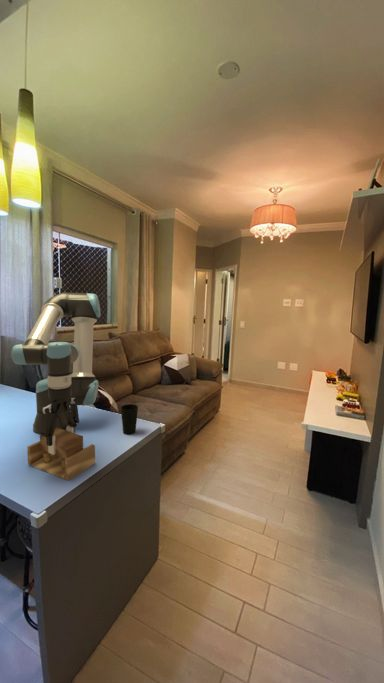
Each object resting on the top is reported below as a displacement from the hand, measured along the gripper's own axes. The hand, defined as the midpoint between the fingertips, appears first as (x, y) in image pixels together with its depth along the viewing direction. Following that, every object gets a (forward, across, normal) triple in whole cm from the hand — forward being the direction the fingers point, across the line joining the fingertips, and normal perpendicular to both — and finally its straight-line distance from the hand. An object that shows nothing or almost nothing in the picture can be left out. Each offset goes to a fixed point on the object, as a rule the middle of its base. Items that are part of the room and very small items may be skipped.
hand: (61, 448), depth 102 cm
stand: (+6, 0, 0) cm, 6 cm away
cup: (+6, +33, -5) cm, 34 cm away
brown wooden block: (+1, 0, 0) cm, 1 cm away
